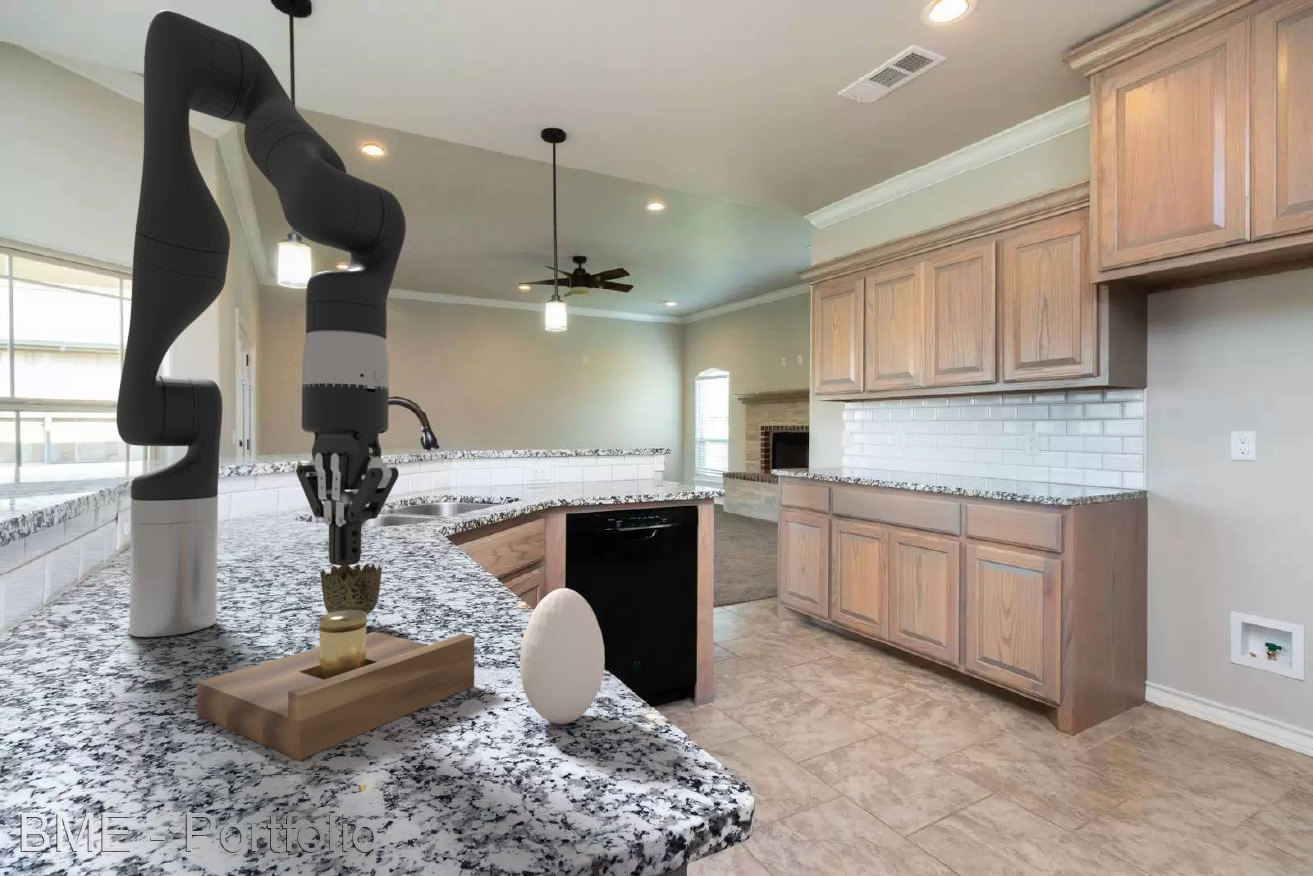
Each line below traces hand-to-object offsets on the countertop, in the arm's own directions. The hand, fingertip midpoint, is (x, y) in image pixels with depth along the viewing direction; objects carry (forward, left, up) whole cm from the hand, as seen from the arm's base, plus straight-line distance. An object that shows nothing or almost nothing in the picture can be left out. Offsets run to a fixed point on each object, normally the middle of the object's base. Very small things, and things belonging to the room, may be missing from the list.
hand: (344, 563), depth 62 cm
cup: (-21, +15, -13) cm, 29 cm away
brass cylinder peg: (0, 0, -13) cm, 13 cm away
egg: (+21, +7, -13) cm, 26 cm away
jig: (0, 0, -13) cm, 13 cm away
